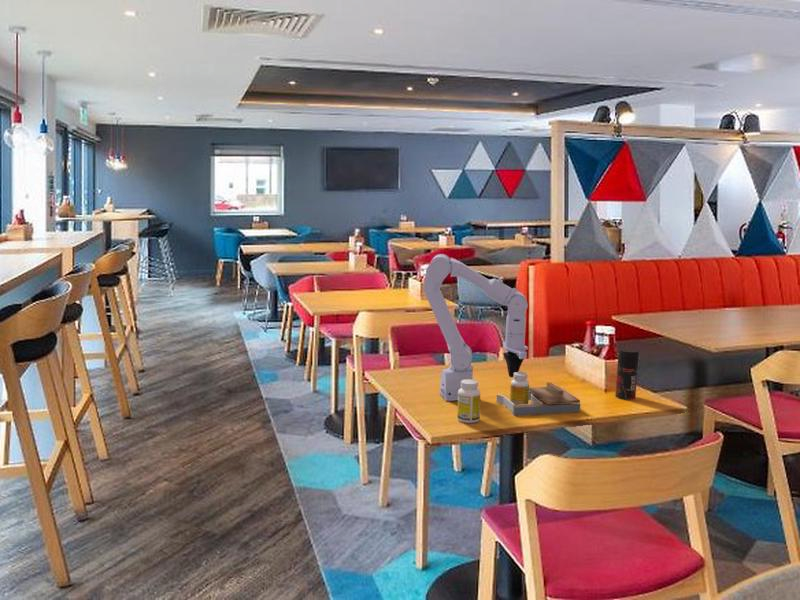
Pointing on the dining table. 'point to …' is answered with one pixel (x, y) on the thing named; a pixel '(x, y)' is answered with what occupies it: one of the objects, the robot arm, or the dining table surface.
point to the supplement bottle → (519, 389)
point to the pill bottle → (469, 401)
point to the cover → (553, 394)
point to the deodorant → (627, 373)
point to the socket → (537, 406)
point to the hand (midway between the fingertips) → (512, 376)
